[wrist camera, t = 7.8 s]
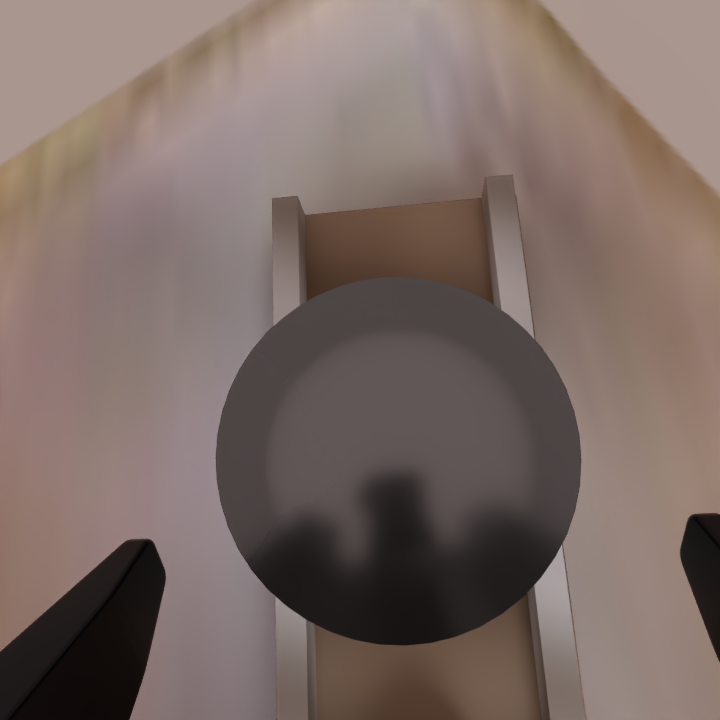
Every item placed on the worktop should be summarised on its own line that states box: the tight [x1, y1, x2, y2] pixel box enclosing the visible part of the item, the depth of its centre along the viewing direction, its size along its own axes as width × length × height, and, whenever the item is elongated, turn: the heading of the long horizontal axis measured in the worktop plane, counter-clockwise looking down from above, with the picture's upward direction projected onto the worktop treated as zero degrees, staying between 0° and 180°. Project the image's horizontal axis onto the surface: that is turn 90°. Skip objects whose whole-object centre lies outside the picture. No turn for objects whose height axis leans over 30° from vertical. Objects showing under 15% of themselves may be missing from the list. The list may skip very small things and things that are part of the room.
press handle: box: [216, 277, 581, 646], centre depth 10 cm, size 5×5×11 cm
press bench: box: [272, 174, 586, 720], centre depth 15 cm, size 23×8×4 cm, turn 3°
